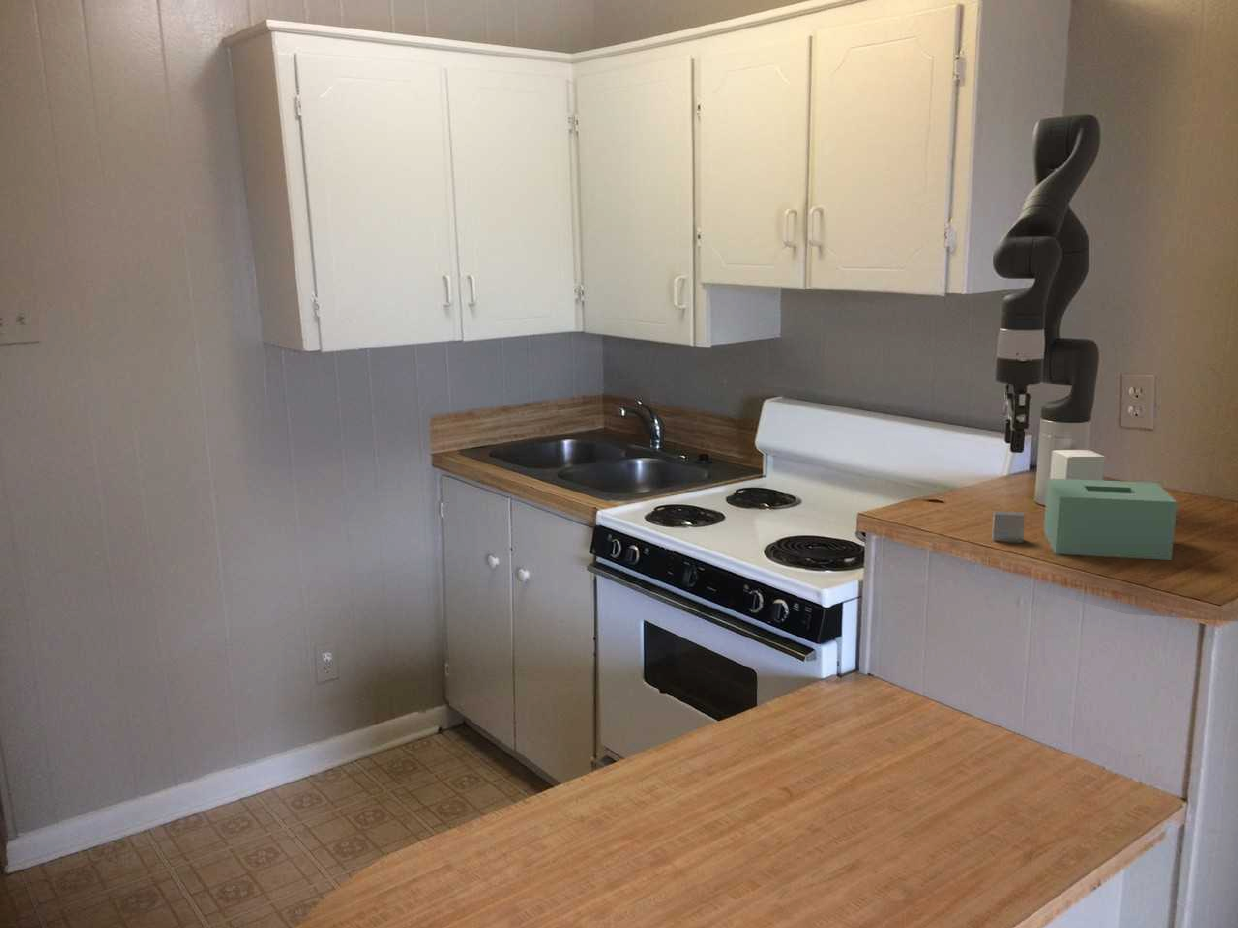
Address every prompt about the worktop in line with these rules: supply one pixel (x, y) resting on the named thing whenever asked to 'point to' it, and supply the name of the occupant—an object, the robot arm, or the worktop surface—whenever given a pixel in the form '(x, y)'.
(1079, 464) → the supplement box
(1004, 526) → the block
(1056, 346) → the robot arm
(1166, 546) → the money box
